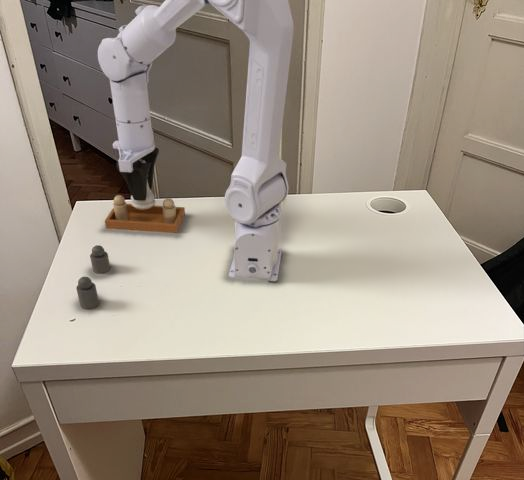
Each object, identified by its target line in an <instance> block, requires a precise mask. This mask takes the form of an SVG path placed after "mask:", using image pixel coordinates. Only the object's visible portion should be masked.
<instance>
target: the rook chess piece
mask: <svg viewBox="0 0 524 480" xmlns="http://www.w3.org/2000/svg"><path fill="white" fill-rule="evenodd" d="M139 161H141V163H146V162H145V161H144V160H143V162H142V160H141V159H139ZM147 177H148V176H147ZM152 191H153V190H152V189H151V190H150V188H149V185H148V180H147V196H146V200H145V201H141V200H134V199H133V196H132V194H131V195H130V201H131V202H130V204H132V206H133V207H135V208H136V209H142V210H144V209H149V208H151V207H153V206H154V205H155V204H156V203H157V201H156V199H155V198H156V197H155V194H154V192H152Z"/></svg>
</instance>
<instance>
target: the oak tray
mask: <svg viewBox="0 0 524 480" xmlns="http://www.w3.org/2000/svg"><path fill="white" fill-rule="evenodd" d="M162 207H163V205H157V204H156V205H155V204H154V206H153V207H151V208H149V209H144V210H142V209H136V208H135V207H133V206H132V204H131V203H127V210H128V216H129V220H128V221H123V220H116V218H115V212H114V207H113V208H112V209H111V211H110V212H109V213H108V215H107V217H106V218H105V219H104V224H105V229H109V230H123V231H138V232H150V233H151V232H153V233H169V234H177V233H178V231H179V229H180V228H181V226H182V223H183V221H184V218H185V216H186V209H185V207H184V206H176V216H177V218H176V220H175V222H174V224H168V223H164V218H163V209H162Z"/></svg>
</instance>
